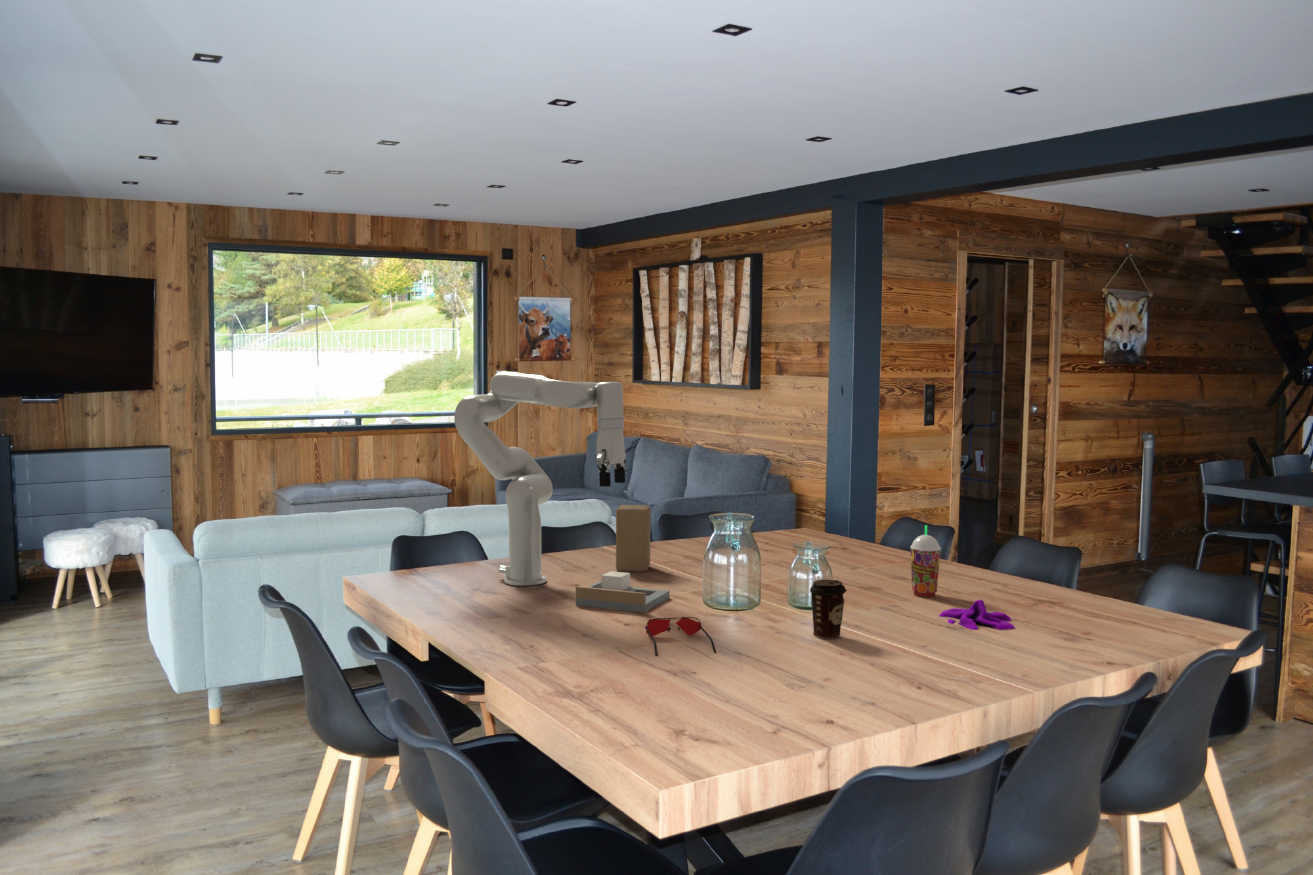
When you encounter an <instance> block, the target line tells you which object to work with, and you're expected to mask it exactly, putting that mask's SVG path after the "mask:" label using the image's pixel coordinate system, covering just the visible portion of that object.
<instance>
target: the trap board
mask: <svg viewBox="0 0 1313 875" xmlns="http://www.w3.org/2000/svg"><path fill="white" fill-rule="evenodd" d="M668 599H670V590H664V589H655V588H643V587H636V586H634V587H633V586H632V587H631V586H630V587H629V588H627V589H625V590H623V591H621V590H611V589H602V580H600V581H597V582H595V583H594V584H591V585H588V586H579V585H577V586H575V606H577V607H578V606H579V607H586V608H587V607H588V608H589V607H590V608H599V609H608V610H614V611H615V610H616V611H617V610H618V611H626V612H634V613H635V612H636V613H647V612H648V611H649V610H651V609H653V608H654V607H656V606H658V605H660V604H661V603H663V602H665V601H667V600H668Z"/></svg>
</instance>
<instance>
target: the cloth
mask: <svg viewBox="0 0 1313 875" xmlns="http://www.w3.org/2000/svg"><path fill="white" fill-rule="evenodd" d="M938 617H941V618H948V619H947V623H948V624H949V625H954V624H956V622H957V621H956V620H959V622H958V623H957V624H958V625H959V626H961V627H963V628H965V629H968V630H971V631H977V630H978V631H979V628H978V626H979V625H981V626H986V627H988V628H993V629H994V630H998V631H1002V630H1013V629H1016V627H1015V626H1014V625H1013V624H1012V623H1011V622H1012V619H1011V617H1010V615H1008V614H1007V613H1004V612H999V611H993V612H987V609H986V605H985V602H984V600H983V599H976V600H975V601H974V603H973V604H972V605H970V608H968V609H967V608H957V607H956V608H949V609H946V610H944V611H942V612H940V614H939V615H938ZM955 619H956V620H955Z"/></svg>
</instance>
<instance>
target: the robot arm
mask: <svg viewBox="0 0 1313 875" xmlns="http://www.w3.org/2000/svg"><path fill="white" fill-rule="evenodd" d="M489 390H490V391H489V392H488V393H487V394H471V395H467V396H465V397H463V398H462V399H460V401H459V402H458V404H456V407H455V410H454V417H453V418H454V419H453V420H454V425H455V428H456V430H457V432H458V435H459V437H461V439H462V440H463V441H464V442H465V443H466V445H467V446H468V447H469V448H470V449H471V451H473V453H474V455H475V456H476V458H478V460H479V461H480V462H481V463H482V465H483V466H484V467H485V469H487V471H488V472H489V474H490V475H492V477H493V478H494V479H496V480H498V481H507V480H511V481H510V482H509V484H508V485H507V486H506V490H505V502H506V507H507V512H508V513H507V514H508V515H507V517H508V561H509V562H508V565H507V566H506V565H500V566H499V567H498V573H499V574H505V576H504V578H503V582H504V584H506V585H509V586H521V587H523V586H524V587H525V586H527V587H528V586H537V585H542V584H545V583H546V582H547V576H546V575H543V574H542V521H541V520H542V518H541V513H540V509H539V505H542V504H545V503H546V502H548V501H549V500H550V499H551V498H552V495H553V492H554V491H553V489H554V488H553V483H552V480H551V479H550V478H549V476H548V474H546V472H545V471H544V470H543V469H542V468H541V466H540V465H539V463H537V461H536V460H535V459H534V458H533V456H531V454H530V453H529V452H528V451H526V450H525V449H524V448H521V447H518V446H510V447H509V446H507V445H506V444H504V442H503V441H502V439H500V437H499V436H498V435H497V433H495V432H494V431H493V430H492V429H491V428H489V427H488V426H487V425H486V423H490V422H491V423H492V422H495V421H497V420H499V419H501V418H502V417H503V416H504V415H506V414H507V413H508V412H509V411H510V410H512V409H513V408H515V406H516V405H517V404H519V403H527V404H534V405H535V404H536V405H541V406H544V405H545V406H548V407H549V406H550V407H558V408H565V409H587V408H588V409H589V408H595V407H596V416H597V419H596V420H597V421H596V422H597V434H596V449H595V450H596V451H595V452H596V453H595V454H596V464H597V468H598V471H597V472H598V473H599V477H598V478H599V486H600V487H605V488H607V487H611V486H612V484H611V483H612V482H611V471H610V469H611V466H614V469H613V471H614V472H613V473H614V474H613V475H614V483H616V484H617V483H618V484H620V483H621V484H625V483H626V464H627V463H626V462H627V459H626V458H627V452H626V447H625V437H624V430H625V429H624V428H625V422H624V420H625V419H624V417H625V416H624V391H623V390H624V389H623V384H622V383H621V382H620V381H602V382H593V381H565V380H559V379H558V380H557V379H551V378H548V377H546V376H545V375H541V374H530V373H524V372H523V373H522V372H520V371H500V372H497V373H495V374H494V375H493V376H492V378H491V379H490V382H489Z"/></svg>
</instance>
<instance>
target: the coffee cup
mask: <svg viewBox="0 0 1313 875" xmlns="http://www.w3.org/2000/svg"><path fill="white" fill-rule="evenodd" d="M809 591H810V593H811V607H812V609H811V610H812V623H813V624H812V626H813V634H812V635H813V637H816V638H819V639H828V640H829V639H836V638H840V636H841V628H842V623H843V614H844V606H845V598H844V594H846V592H847V589H846V587H845V585H843V582H842V581H840V580H838V579H834V580H833V579H818V580H815V581H813V584H812V586H811V587H810V589H809Z"/></svg>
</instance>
